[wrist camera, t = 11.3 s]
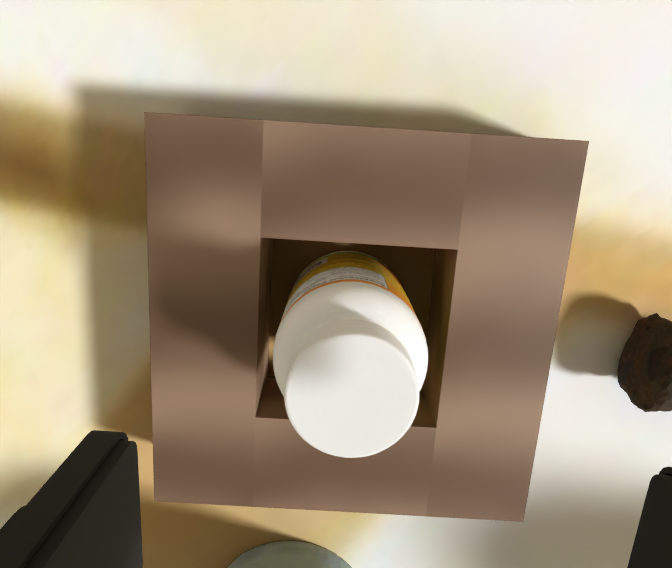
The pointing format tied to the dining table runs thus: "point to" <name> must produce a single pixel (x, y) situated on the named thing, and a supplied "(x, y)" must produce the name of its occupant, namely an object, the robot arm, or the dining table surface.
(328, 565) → the blue grey cup
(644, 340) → the hand tool
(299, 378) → the supplement bottle
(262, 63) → the dining table surface
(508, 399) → the collar block
